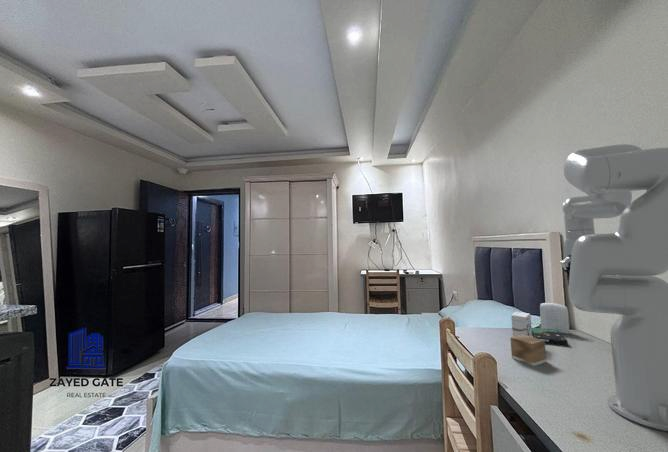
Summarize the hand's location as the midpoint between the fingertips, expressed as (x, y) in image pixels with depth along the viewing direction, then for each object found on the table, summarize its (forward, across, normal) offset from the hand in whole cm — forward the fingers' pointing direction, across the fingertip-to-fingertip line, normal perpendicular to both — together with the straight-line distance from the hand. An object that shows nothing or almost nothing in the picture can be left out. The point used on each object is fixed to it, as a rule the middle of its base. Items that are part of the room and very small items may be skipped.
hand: (585, 286), depth 92 cm
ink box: (+25, +8, -19) cm, 32 cm away
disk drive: (+25, -8, -22) cm, 34 cm away
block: (+18, +19, -6) cm, 27 cm away
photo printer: (+24, -20, -30) cm, 43 cm away
